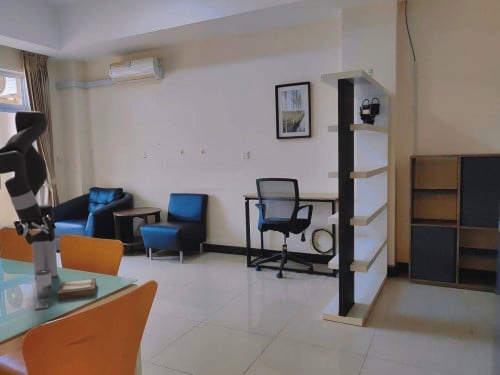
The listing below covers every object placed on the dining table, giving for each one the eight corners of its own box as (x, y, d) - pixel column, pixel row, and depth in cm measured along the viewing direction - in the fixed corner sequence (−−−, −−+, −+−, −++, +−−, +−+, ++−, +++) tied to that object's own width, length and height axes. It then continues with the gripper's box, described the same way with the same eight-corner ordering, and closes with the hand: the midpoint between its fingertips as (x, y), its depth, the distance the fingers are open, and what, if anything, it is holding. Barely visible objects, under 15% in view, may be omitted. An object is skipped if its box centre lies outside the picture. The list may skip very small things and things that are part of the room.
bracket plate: (38, 305, 141) (38, 302, 141) (50, 303, 143) (50, 300, 142) (35, 311, 136) (35, 308, 136) (47, 309, 137) (47, 306, 137)
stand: (62, 289, 156) (61, 281, 156) (96, 285, 160) (95, 277, 160) (57, 300, 144) (57, 292, 144) (94, 295, 148) (94, 287, 148)
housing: (39, 294, 151) (37, 270, 150) (53, 292, 152) (51, 268, 151) (36, 299, 146) (34, 274, 145) (51, 297, 148) (49, 272, 147)
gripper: (48, 197, 142) (64, 235, 148) (14, 202, 144) (30, 239, 150) (37, 206, 135) (53, 245, 141) (1, 211, 137) (19, 249, 143)
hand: (41, 241), depth 145 cm, fingers open, 8 cm apart
